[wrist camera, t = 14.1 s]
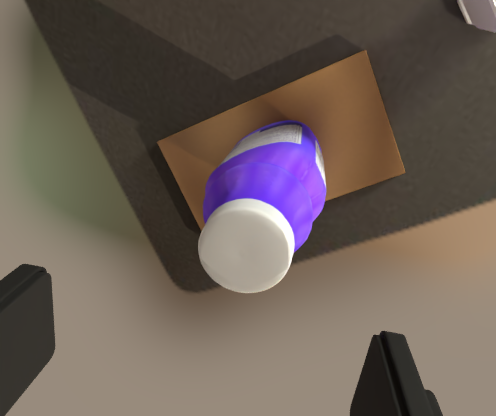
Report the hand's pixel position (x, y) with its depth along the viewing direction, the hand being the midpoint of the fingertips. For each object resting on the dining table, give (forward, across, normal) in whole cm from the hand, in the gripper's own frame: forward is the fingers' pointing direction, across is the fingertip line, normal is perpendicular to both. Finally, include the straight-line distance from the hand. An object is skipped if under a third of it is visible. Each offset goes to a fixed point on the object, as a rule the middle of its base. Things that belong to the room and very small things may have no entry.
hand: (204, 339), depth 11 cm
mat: (+24, -1, 0) cm, 24 cm away
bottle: (+23, -1, 0) cm, 23 cm away
